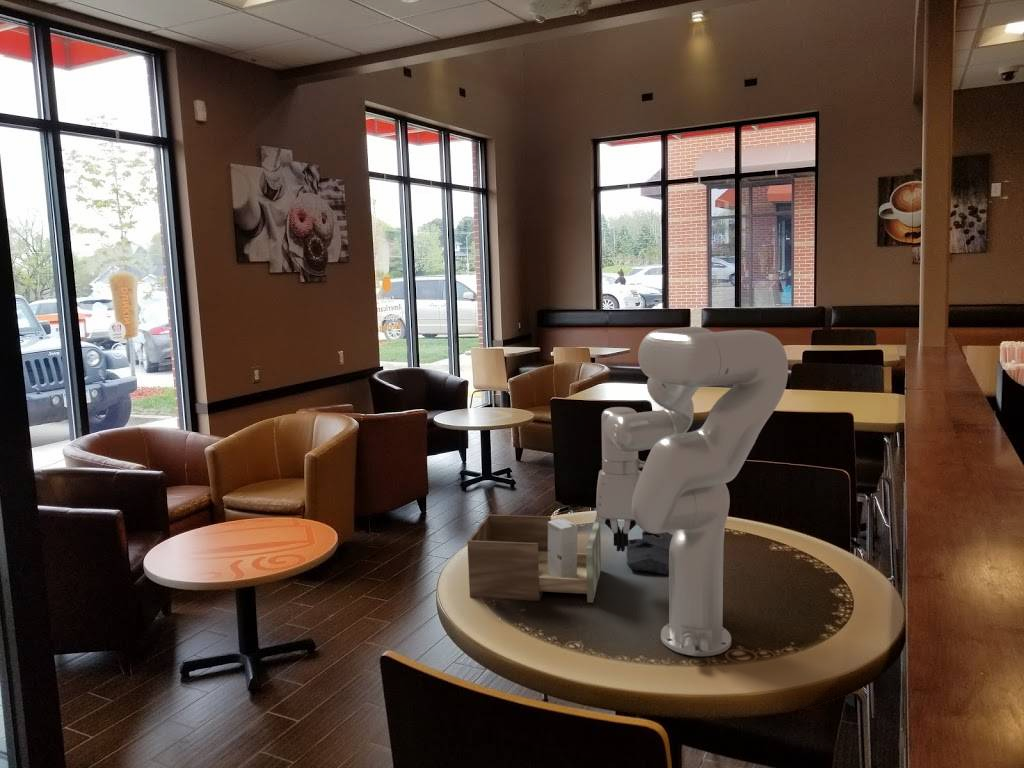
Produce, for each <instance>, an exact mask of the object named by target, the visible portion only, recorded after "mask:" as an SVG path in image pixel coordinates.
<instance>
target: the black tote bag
mask: <svg viewBox="0 0 1024 768" xmlns="http://www.w3.org/2000/svg"><path fill="white" fill-rule="evenodd" d="M641 536H642V537H641V538H638V539H637V538H634V539H628V546H626V559H627V560H626V564H627V566H628V568H629V569H631V570H633V571H639V570H640V572H641V571H642V572H650V573H653V574H659V575H666V576H669V548H670V543H671V539H672V536H673V534H671V532H666V533H658V534H654V533H648V532H646V531H644V530H642V532H641Z"/></svg>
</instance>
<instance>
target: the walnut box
mask: <svg viewBox="0 0 1024 768" xmlns="http://www.w3.org/2000/svg"><path fill="white" fill-rule="evenodd" d="M549 521H552V516H543V515H542V516H540V515H518V514H517V515H514V514H513V515H509V514H490V513H489V514H486V515H485V517H484V518H483V520H482V521H481V522H480V524H479V525H478V526H477V528H476V529H475V531H474V532H473V533H472V534H471V536H470V537H469V538H468V540H467V542H466V544H467V561H468V562H467V563H468V565H467V566H468V583H469V585H468V586H469V587H468V588H469V597H470V598H481V599H482V598H483V599H498V600H499V599H500V600H501V599H502V600H516V601H517V600H518V601H531V602H532V601H534V602H540V599H541V598H542V595H543V592H544V591H539V562H538V551H547V552H548V522H549Z"/></svg>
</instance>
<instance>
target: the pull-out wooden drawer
mask: <svg viewBox="0 0 1024 768" xmlns="http://www.w3.org/2000/svg"><path fill="white" fill-rule="evenodd" d="M588 537H589V539H588V541H587V543H586V547H585V550H586V551H585V552H584V553H583V552H577V578H563V577H552V576H551V575H550V574H548V552H547V551H538V562H539V591H543V592H549V593H567V594H568V593H569V594H586V601H587V603H591V604H592V603H594V601H595V597H596V592H597V588H598V583H599V580H600V576H601V571H602V553H601V552H602V551H601V550H602V548H601V545H602V541H601V540H602V538H601V523H599V522H596V520H595V519H594V521H593V525H592V528H591V530H590V535H589V536H588Z"/></svg>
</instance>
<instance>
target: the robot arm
mask: <svg viewBox="0 0 1024 768" xmlns="http://www.w3.org/2000/svg"><path fill="white" fill-rule="evenodd" d="M637 354H638V355H637V361H638V365H639V368H640V369H641V371H642V373H643V374H644V375H645V376H646V377H648V379H647V381H646V382H647V383H646V387H647V388H646V389H647V392H648V394H649V397H650V398H651V399H652V400H653V402H654V403H656V404H657V405H658V406H660V407H661V408H663V409H662V410H661V409H660V410H653V411H651V410H650V411H642V412H637V411H636V410H635V409H633V408H631V407H627V406H614V407H613V406H612V407H609V408H606V409H604V410H603V411H602V413H601V469H600V470H599V471H598V477H597V484H596V485H597V486H596V501H595V503H596V506H595V507H596V508H595V509H596V511H595V512H596V516H595V519H594V521H595V520H596V522H599V523H600V524H603V525H606V526H607V527H608V528H609V529H610V530H611V532H612V533H613V547H616V552H625V549H626V547H627V546H628V540H629V532H630V531H631V530H632V529H633V528H635V527H636V526H638V527H639V528H640V529H641V530H642V531H646V532H648V533H654V534H658V533H666V532H668V533H671V532H673V534H672V535H673V536H672V539H671V543H670V548H669V575H668V589H669V590H668V596H669V598H668V603H669V604H668V607H669V609H668V611H669V612H668V621H669V623H667V624H666V625H664V626H663V627H662V629H661V630H660V640H661V642H662V643H663V644H664V646H666V647H667V648H668V649H670V650H672V651H673V652H675V653H679V654H681V655H685V656H686V655H687V656H691V657H712V656H718V655H720V654H723V653H724V652H726V651H728V650H729V648H730V647H731V645H732V636H731V633H730V632H729V631H728V630H727V629H726V628H725V627H723V621H724V620H723V618H724V617H723V616H724V614H723V613H724V612H723V609H724V607H723V603H724V596H723V595H724V589H723V588H724V543H725V542H724V541H725V530H726V526H727V525H726V523H727V519H728V515H729V512H730V511H729V510H730V503H731V502H730V501H731V499H730V491H729V489H728V486H727V483H729V482H731V481H733V480H734V479H735V478H736V477H737V475H738V474H739V472H740V471H741V469H742V467H743V465H744V464H745V461H746V460H747V458H748V456H749V454H750V452H751V450H752V449H753V447H754V445H755V444H756V440H757V439H758V437H759V434H760V433H761V432H762V429H763V428H764V426H765V424H766V423H767V421H768V420H769V418H770V417H771V416H772V415H773V413H774V411H775V409H776V408H777V407H778V405H779V403H780V402H781V399H782V398H783V395H784V393H785V390H786V387H787V383H788V376H789V365H788V364H789V363H788V358H787V354H786V351H785V348H784V346H783V344H782V342H781V341H780V340H779V338H777V337H776V336H775V335H773V334H771V333H769V332H766V331H762V330H755V329H735V330H726V331H725V330H724V331H712V330H710V329H708V328H705V327H701V326H700V327H698V326H688V327H687V326H685V327H671V328H660V329H659V328H658V329H656V330H652V331H651V332H649V333H648V334H646V335H645V336H644V338H643V339H642V340H641V342H640V344H639V348H638V353H637ZM724 385H733V386H731V387H730V389H728V390H727V391H726V392H725V393H724V394H722V395H721V397H719V399H717V401H715V402H714V405H713V406H712V407H711V409H710V410H709V412H708V415H707V418H706V420H705V421H704V423H703V425H702V426H701V427H700V428H698V429H696V430H693V431H689V429H690V427H691V426H692V425H693V422H694V416H695V406H694V403H693V399H692V397H693V396H694V395H695V394H696V393H697V391H698V390H699V388H705V387H714V386H715V387H716V386H724ZM646 450H650V452H648V453H649V454H648V456H647V458H646V460H643V461H642V460H640V458H639V452H641V451H646ZM640 469H642V470H640ZM619 520H624V522H623V527H622V529H621V527H620V526H619V522H618V521H619Z"/></svg>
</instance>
